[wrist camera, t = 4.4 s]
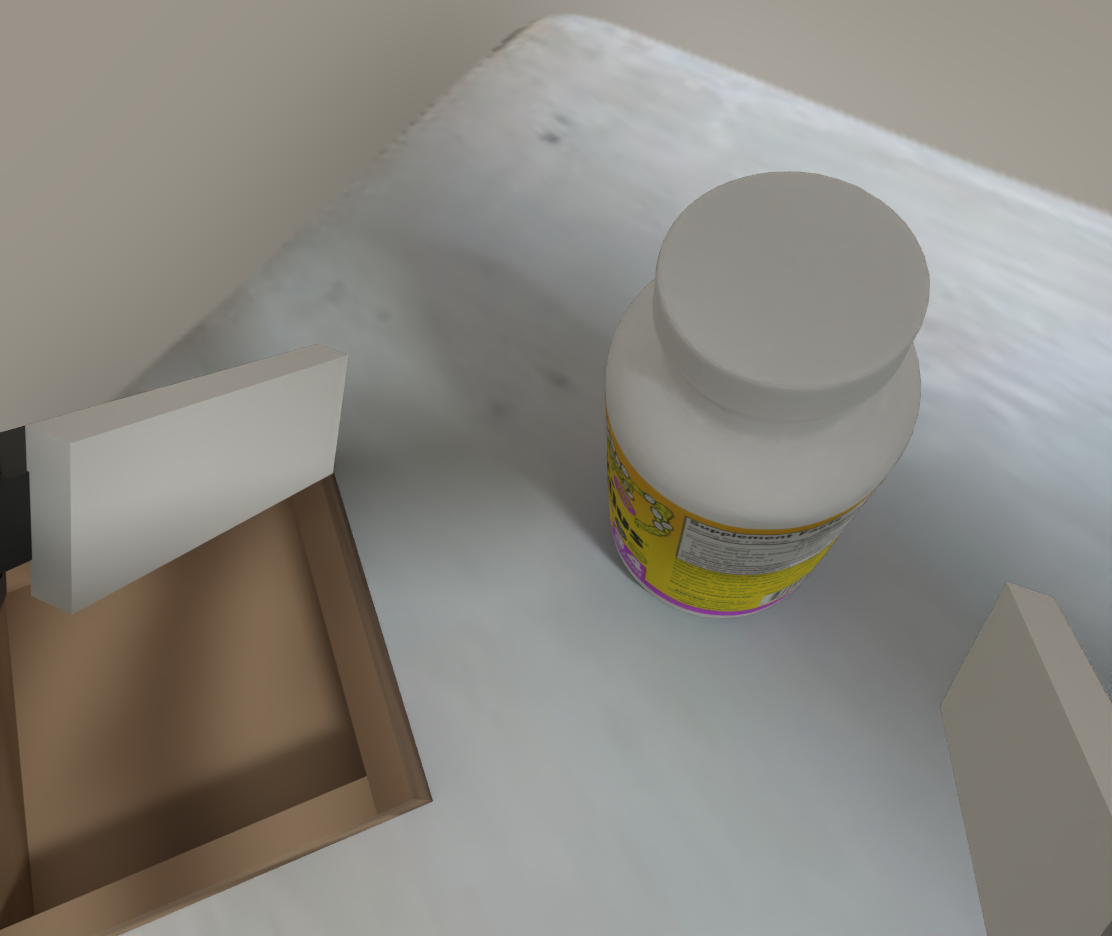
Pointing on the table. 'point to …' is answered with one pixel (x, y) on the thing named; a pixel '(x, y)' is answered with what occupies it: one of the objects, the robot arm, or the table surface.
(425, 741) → the table surface
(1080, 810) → the robot arm
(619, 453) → the supplement bottle
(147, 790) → the walnut tray
